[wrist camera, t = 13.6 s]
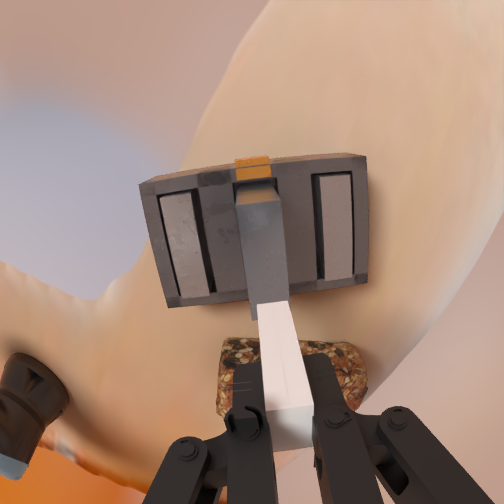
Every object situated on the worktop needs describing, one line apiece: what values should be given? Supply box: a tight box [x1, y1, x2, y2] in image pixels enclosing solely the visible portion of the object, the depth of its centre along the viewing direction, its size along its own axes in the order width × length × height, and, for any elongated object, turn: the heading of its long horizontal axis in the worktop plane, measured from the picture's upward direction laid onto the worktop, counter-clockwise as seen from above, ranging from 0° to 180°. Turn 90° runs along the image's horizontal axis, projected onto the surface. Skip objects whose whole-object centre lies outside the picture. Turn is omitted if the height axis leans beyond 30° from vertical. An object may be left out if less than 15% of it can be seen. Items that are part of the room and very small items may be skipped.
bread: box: [216, 337, 368, 418], centre depth 37 cm, size 19×11×10 cm, turn 83°
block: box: [235, 180, 291, 320], centre depth 26 cm, size 9×3×10 cm, turn 7°
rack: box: [139, 153, 369, 308], centre depth 30 cm, size 21×14×7 cm, turn 97°
